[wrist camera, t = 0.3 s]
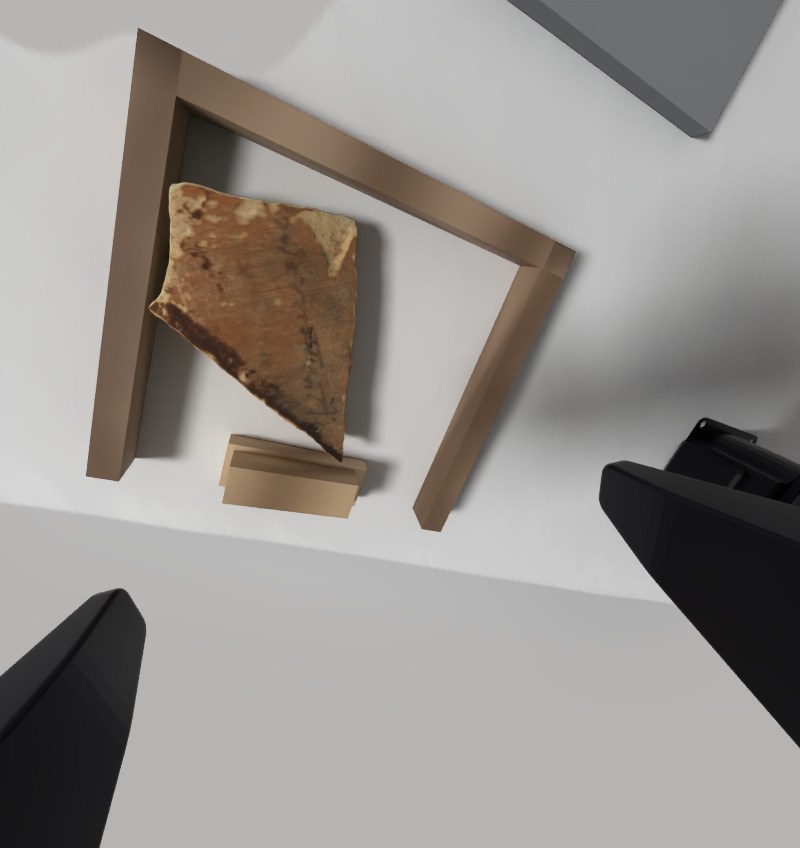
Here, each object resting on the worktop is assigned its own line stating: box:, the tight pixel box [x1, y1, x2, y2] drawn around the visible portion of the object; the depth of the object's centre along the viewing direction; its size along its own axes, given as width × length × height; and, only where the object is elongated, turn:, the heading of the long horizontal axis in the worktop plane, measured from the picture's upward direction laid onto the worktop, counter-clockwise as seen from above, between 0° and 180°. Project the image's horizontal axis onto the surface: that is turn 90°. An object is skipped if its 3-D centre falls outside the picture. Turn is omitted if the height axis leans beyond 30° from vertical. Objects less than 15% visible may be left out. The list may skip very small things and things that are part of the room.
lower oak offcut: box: [219, 434, 368, 506], centre depth 21 cm, size 7×2×2 cm, turn 70°
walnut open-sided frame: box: [86, 28, 576, 532], centre depth 18 cm, size 17×16×2 cm
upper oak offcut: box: [222, 450, 358, 519], centre depth 20 cm, size 6×2×2 cm, turn 71°
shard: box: [149, 182, 358, 463], centre depth 17 cm, size 11×8×2 cm
